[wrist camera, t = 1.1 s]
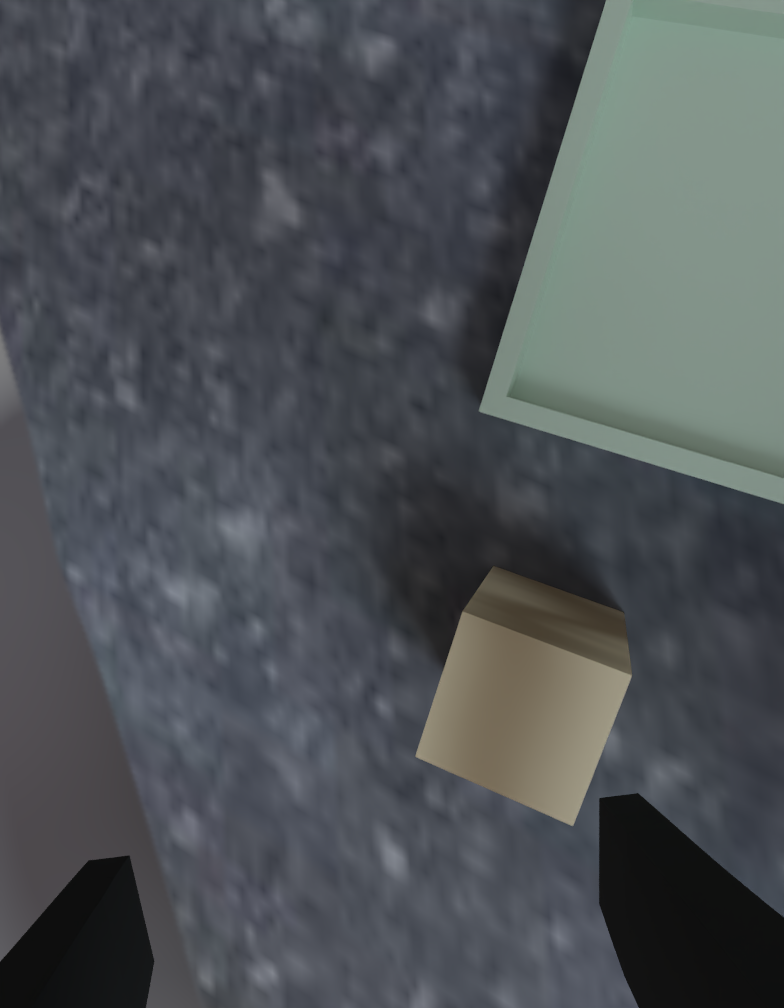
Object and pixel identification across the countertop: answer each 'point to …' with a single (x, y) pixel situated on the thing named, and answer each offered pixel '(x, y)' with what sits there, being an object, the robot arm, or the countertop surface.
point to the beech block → (529, 693)
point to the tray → (663, 251)
